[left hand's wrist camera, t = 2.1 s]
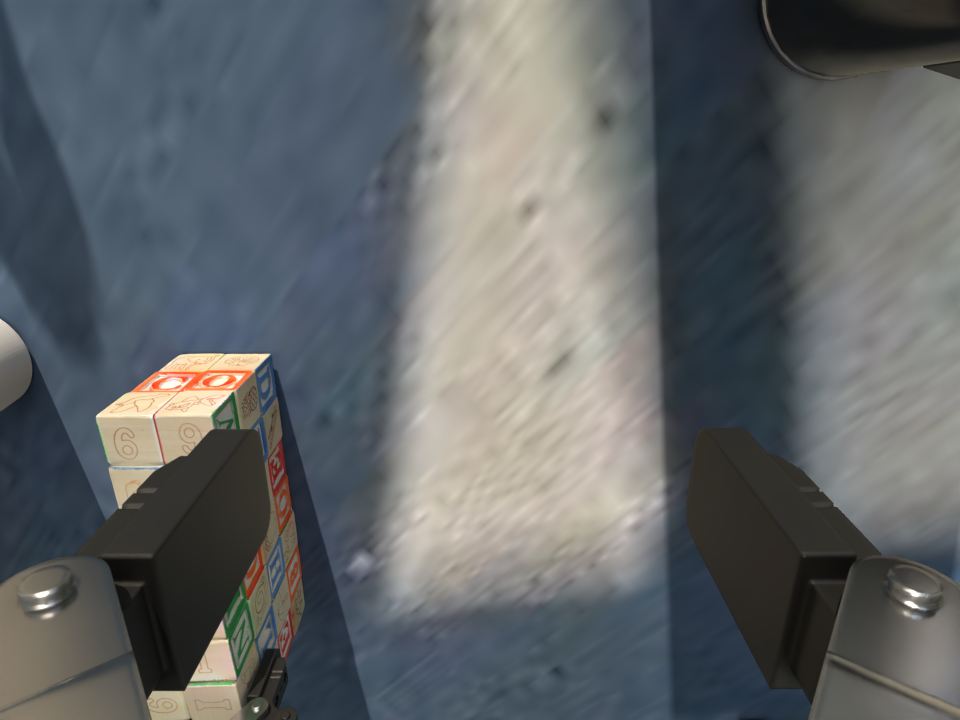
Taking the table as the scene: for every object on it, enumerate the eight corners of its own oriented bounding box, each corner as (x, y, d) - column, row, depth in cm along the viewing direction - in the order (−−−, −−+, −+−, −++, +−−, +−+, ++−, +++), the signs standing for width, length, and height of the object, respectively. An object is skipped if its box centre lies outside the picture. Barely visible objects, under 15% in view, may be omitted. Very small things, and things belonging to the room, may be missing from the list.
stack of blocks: (177, 351, 40) (54, 442, 28) (273, 351, 40) (189, 441, 28) (227, 608, 47) (146, 762, 36) (307, 608, 47) (252, 762, 36)
